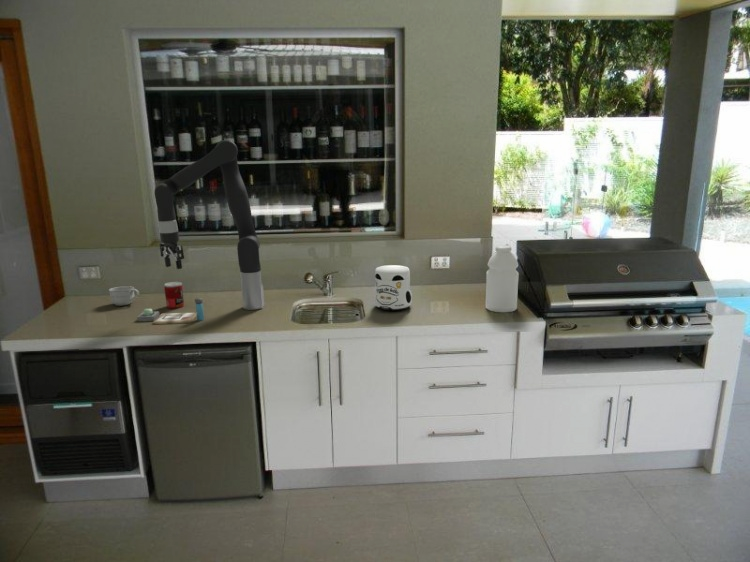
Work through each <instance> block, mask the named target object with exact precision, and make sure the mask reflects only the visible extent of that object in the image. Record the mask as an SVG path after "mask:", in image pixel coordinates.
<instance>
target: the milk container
mask: <svg viewBox="0 0 750 562" xmlns="http://www.w3.org/2000/svg"><path fill="white" fill-rule="evenodd" d="M410 272H411V271H410V268H409V267H408V266H406V265H398V264H397V265H395V264H394V265H393V264H388V265H380V266H377V267H376V268H375V270H374V276H375V278H374V280H375V281H374V283H375V284H374V286H375V287H374V292H373V302H374V305H375V307H376V308H378V309H380V310H384V311H393V312H394V311H402V310H405V309H407V308H409V307H410V306H411V304H412V300H413V295H412V291H411V273H410Z"/></svg>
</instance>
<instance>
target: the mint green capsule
mask: <svg viewBox="0 0 750 562" xmlns="http://www.w3.org/2000/svg"><path fill="white" fill-rule="evenodd" d="M142 312H144V316H152V315H153V312H154V311H153V309H152V308H145V309H143V310H142Z"/></svg>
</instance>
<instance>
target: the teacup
mask: <svg viewBox="0 0 750 562" xmlns="http://www.w3.org/2000/svg"><path fill="white" fill-rule="evenodd" d="M108 292H109V296H110V297H109V299H110V301H111V303H112V304H114V305H115V306H128V305H131V303H133V302H134V301H135V299H137V298H138V297H139V295H140V291H139V290H138V288H137V289H136V288H135V287H134V286H133V285H132V286H131V285H125V286H124V285H123V286H116V287H111V288H109V289H108ZM135 293H136V294H135Z"/></svg>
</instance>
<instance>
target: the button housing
mask: <svg viewBox="0 0 750 562" xmlns="http://www.w3.org/2000/svg"><path fill="white" fill-rule="evenodd" d="M152 312H153V315H152V316H144V312H143V311H142V312H141V313H140V314H139V315H138V316H137V317H136V319H137V322H154V321H155V320H156V319H157V318H158V317H159V316H160V315H161V314H160V311H158V310H157V311H152Z"/></svg>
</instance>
